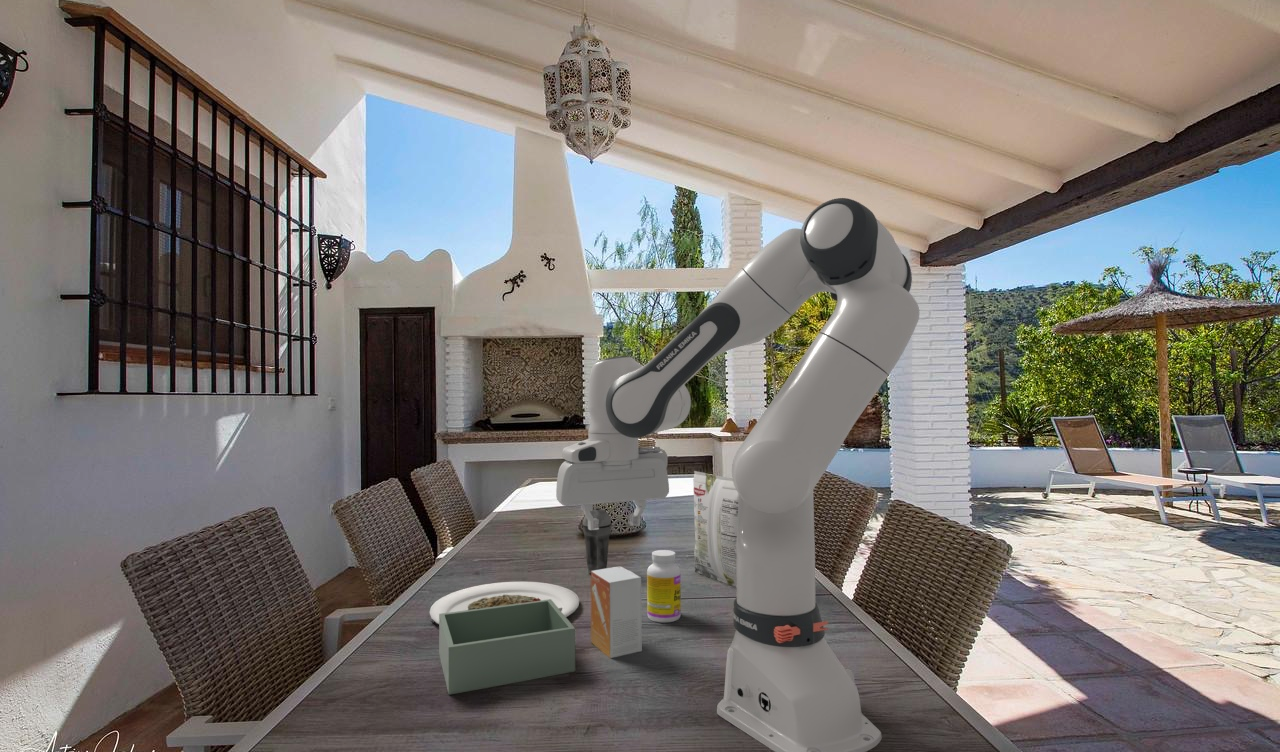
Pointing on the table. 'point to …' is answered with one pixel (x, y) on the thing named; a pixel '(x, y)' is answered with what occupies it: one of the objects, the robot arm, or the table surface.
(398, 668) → the table surface
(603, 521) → the beverage cup
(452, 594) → the plated food
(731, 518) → the frozen beans
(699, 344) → the robot arm
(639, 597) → the small box
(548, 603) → the tote
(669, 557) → the supplement bottle
